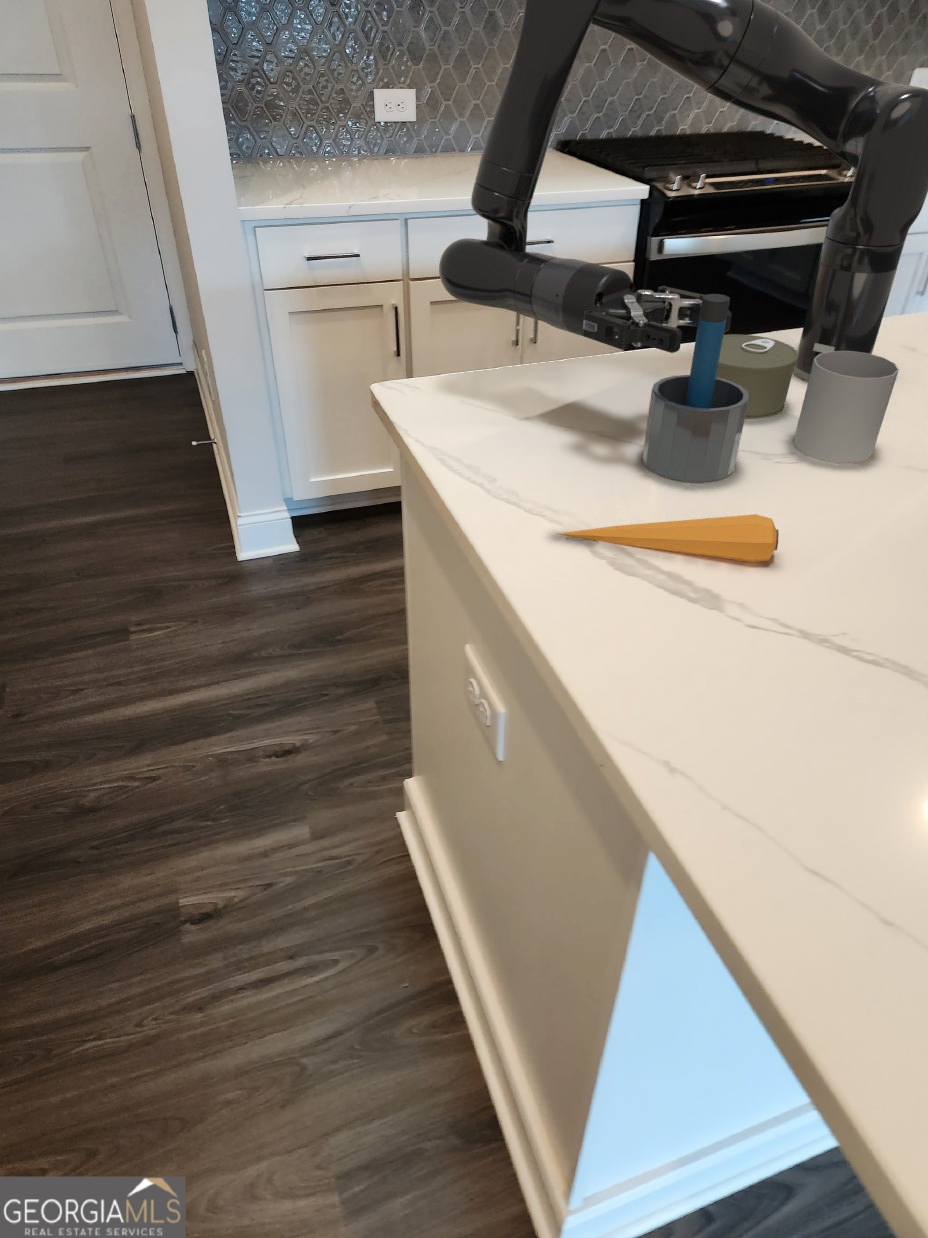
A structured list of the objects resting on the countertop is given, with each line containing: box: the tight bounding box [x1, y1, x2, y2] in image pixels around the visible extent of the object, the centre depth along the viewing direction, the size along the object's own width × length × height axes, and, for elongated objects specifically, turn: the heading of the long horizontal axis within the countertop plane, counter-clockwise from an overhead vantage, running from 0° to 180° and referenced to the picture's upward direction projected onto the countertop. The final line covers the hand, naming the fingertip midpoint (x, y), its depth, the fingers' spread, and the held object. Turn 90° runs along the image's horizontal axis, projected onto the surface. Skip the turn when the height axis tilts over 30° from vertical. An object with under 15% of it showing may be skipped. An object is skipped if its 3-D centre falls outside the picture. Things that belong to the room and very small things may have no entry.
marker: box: [685, 293, 731, 408], centre depth 85 cm, size 3×3×18 cm
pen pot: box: [642, 374, 749, 484], centre depth 88 cm, size 10×10×8 cm
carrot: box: [557, 514, 780, 563], centre depth 77 cm, size 20×4×4 cm, turn 77°
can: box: [716, 333, 798, 420], centre depth 103 cm, size 12×12×7 cm
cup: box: [793, 351, 900, 465], centre depth 91 cm, size 8×8×10 cm
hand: (704, 332), depth 83 cm, fingers open, 8 cm apart
